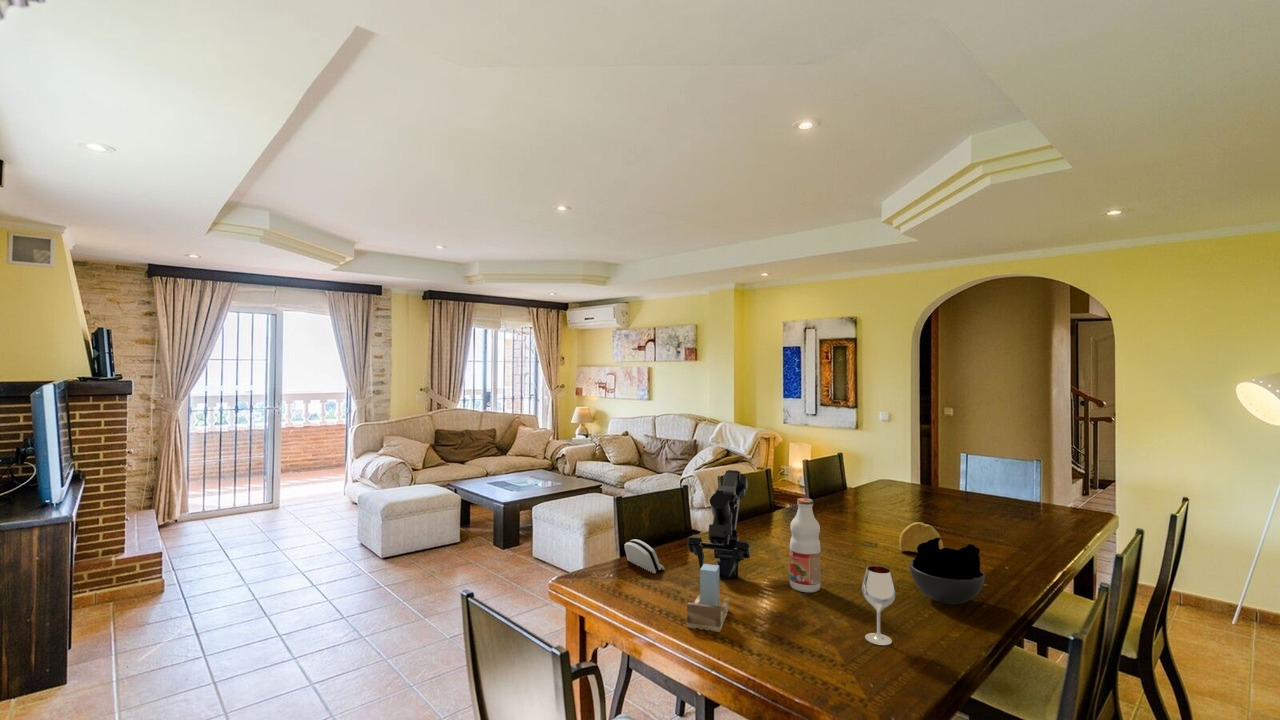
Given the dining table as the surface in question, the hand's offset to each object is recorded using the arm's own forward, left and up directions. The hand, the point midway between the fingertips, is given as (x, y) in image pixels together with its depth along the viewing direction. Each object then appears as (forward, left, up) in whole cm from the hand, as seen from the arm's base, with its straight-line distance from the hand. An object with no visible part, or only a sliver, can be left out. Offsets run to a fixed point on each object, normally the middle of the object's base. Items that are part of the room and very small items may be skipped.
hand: (715, 573), depth 170 cm
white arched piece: (+18, -35, -9) cm, 40 cm away
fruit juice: (-32, -10, -9) cm, 35 cm away
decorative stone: (-91, -41, -9) cm, 100 cm away
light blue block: (+3, +8, -8) cm, 12 cm away
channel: (+4, +9, -9) cm, 13 cm away
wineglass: (-37, +26, -9) cm, 46 cm away
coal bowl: (-70, +5, -9) cm, 71 cm away
